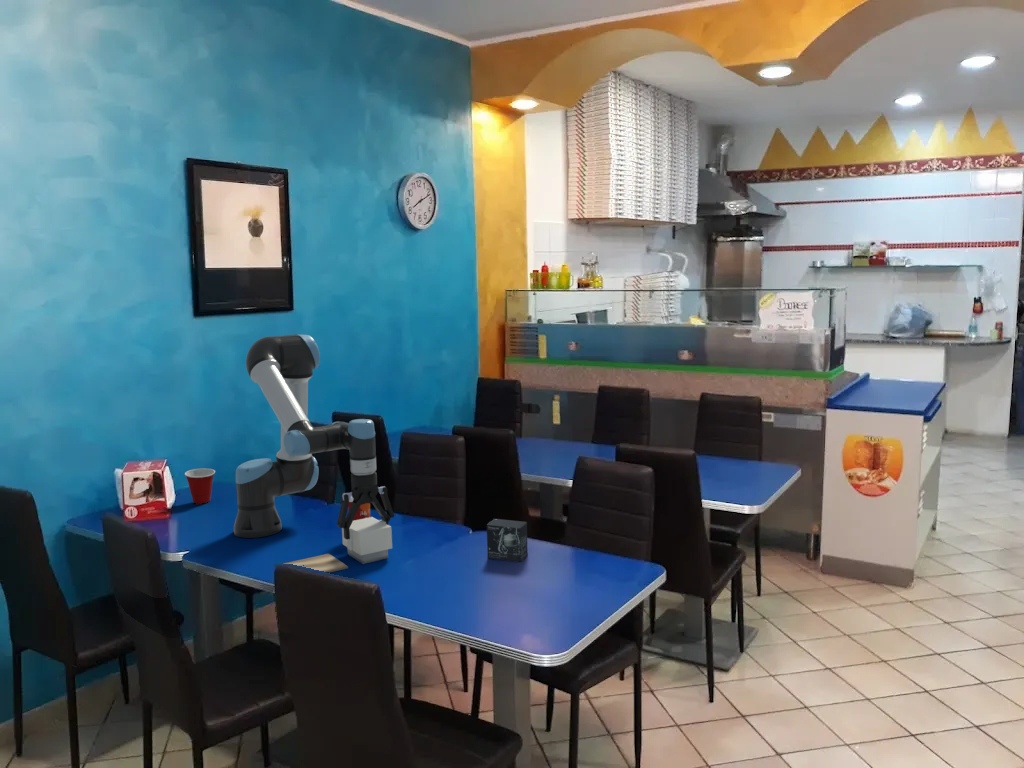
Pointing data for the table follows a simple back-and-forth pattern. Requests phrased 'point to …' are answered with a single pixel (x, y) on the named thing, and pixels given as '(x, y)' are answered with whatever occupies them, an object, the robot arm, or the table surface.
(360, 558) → the dough box
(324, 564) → the trivet
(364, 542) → the lid
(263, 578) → the table surface
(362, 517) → the paper cup
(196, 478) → the plastic cup
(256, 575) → the table surface
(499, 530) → the box
